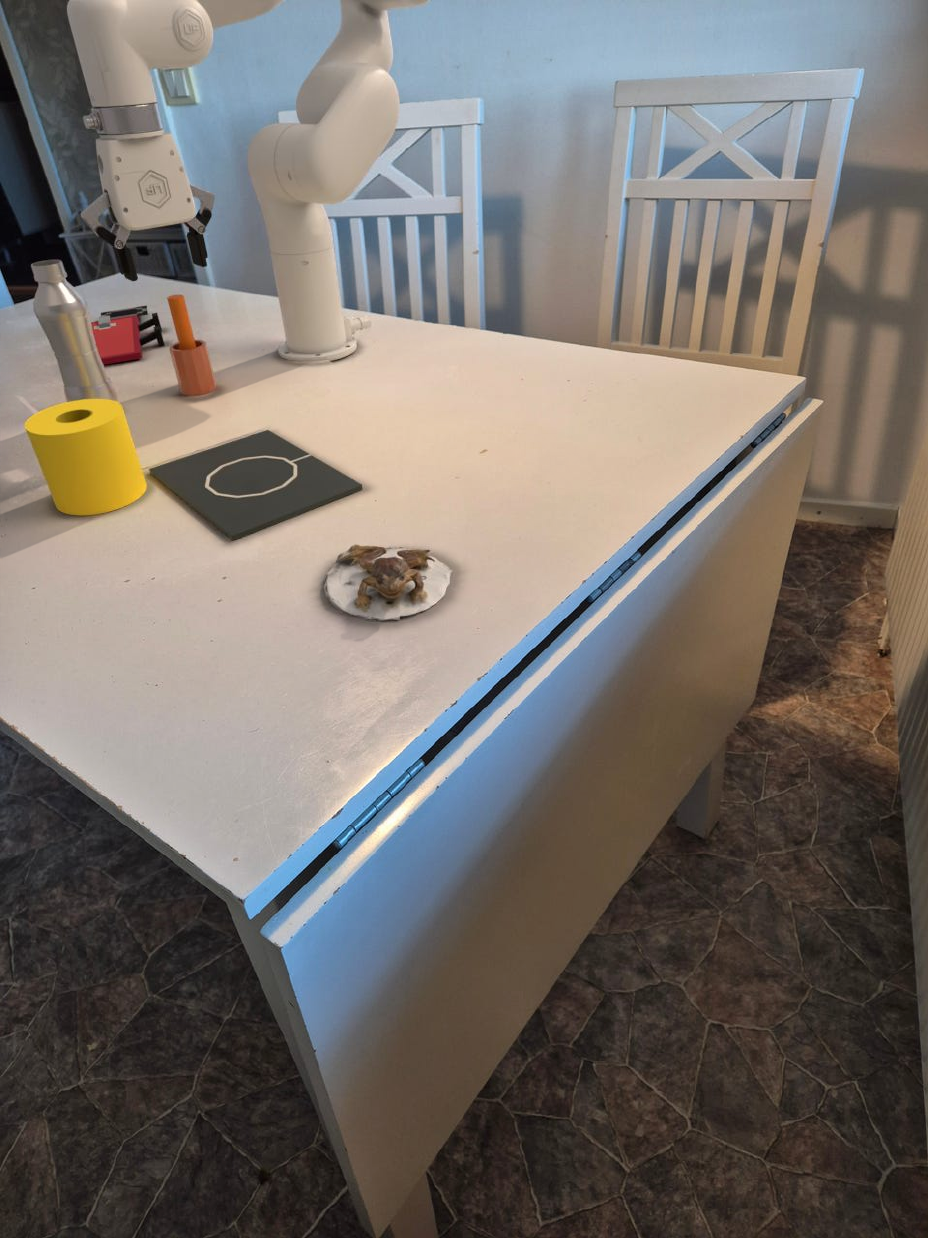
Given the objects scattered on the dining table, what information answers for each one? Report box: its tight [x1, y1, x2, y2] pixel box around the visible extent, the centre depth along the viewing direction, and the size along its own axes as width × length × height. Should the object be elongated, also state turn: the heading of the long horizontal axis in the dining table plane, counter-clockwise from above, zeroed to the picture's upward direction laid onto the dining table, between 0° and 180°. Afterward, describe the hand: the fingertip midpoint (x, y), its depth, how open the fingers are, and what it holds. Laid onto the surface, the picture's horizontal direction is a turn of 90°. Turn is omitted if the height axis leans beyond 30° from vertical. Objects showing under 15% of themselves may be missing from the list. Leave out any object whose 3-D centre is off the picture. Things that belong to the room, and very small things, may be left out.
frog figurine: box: [323, 543, 453, 622], centre depth 74 cm, size 12×12×4 cm
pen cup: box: [168, 339, 217, 397], centre depth 116 cm, size 5×5×7 cm
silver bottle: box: [30, 259, 119, 403], centre depth 107 cm, size 6×7×20 cm
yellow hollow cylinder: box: [24, 399, 148, 516], centre depth 90 cm, size 10×10×9 cm
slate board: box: [148, 429, 364, 541], centre depth 94 cm, size 16×22×1 cm
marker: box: [166, 294, 196, 350], centre depth 114 cm, size 2×2×13 cm
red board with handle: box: [91, 305, 166, 366], centre depth 142 cm, size 30×3×15 cm
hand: (166, 272), depth 108 cm, fingers open, 9 cm apart
